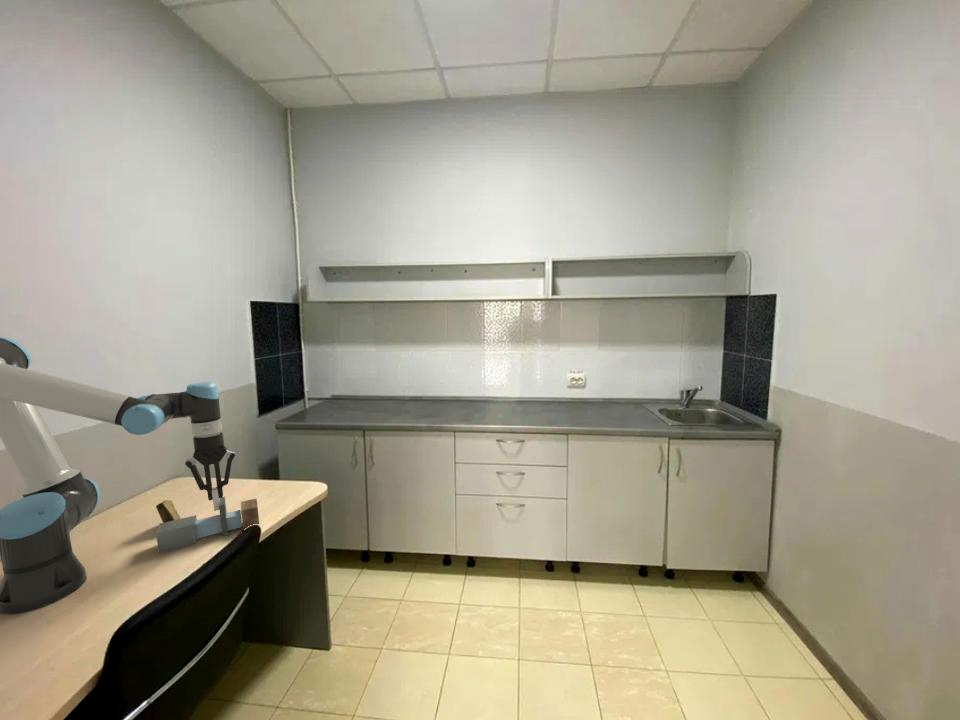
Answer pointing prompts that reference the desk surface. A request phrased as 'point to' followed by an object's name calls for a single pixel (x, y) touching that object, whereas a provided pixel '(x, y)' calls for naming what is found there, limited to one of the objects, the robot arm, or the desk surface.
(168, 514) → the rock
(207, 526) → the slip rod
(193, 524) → the sleeve
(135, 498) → the desk surface
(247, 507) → the socket block
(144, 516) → the desk surface
